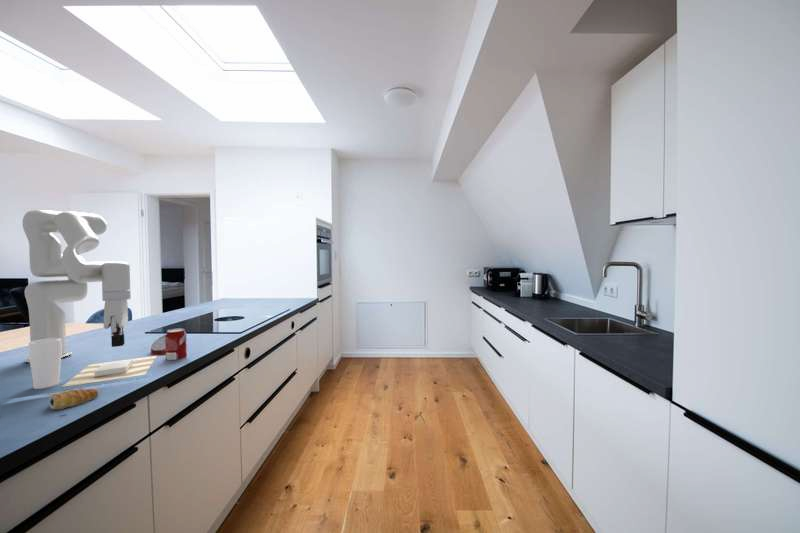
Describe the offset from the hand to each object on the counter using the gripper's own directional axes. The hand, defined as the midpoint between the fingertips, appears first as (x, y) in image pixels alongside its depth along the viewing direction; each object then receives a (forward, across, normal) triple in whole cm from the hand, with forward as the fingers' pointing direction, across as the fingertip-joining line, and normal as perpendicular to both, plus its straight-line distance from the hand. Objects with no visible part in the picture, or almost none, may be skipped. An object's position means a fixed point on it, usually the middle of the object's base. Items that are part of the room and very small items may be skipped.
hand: (118, 345), depth 112 cm
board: (+9, +4, 0) cm, 9 cm away
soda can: (+9, -2, +17) cm, 19 cm away
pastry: (+9, +29, -4) cm, 30 cm away
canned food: (+9, -14, +12) cm, 21 cm away
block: (+7, 0, 0) cm, 7 cm away
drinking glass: (+9, +10, -15) cm, 20 cm away
